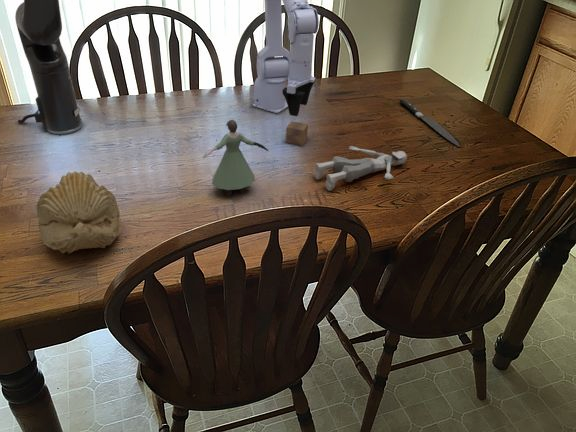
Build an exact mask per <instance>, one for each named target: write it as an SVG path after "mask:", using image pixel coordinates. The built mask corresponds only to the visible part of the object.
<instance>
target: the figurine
mask: <svg viewBox="0 0 576 432" xmlns="http://www.w3.org/2000/svg"><path fill="white" fill-rule="evenodd" d="M348 149H349V151H354V152H361V153H363V154H366V155H367V156H368V155H369V156H374V157H377V158H373V157H364V158H354V159H349V158H346V157H343V156H337V155H335V156H333V158H332V160H330V161H325V162H321V163H315V164H314V170H313V173H314V174H313V176H314V178H315V179H316V180H321V179H322V178H323V176H324V172H325V171H328V170H331V169H332V170H333V172H335V173H327V174H326V181H325V188H326V190H327V191H329V192H330V191H333V190H334V188H335V187H336V182H337V181H341V180H343V181H344V182H346V183H351V182H353V181H354V180H358V179H359V178H361V177H364V176H366V175H369V174H372V173H375V172H379V171H384V170H385V169H386V172H385V174H384V176H383V179H385V180H388V181H390V180H392V179H394V176H393V175H392V174H391V169H392V168H391V167H393V166H400V165H404V164H405V163H406V161H407V159H408V155H407V154H406V152H405V151H402V150H398V151H392V152H391V154H392V155H389V154H386V153H384V152H377V151H375V150H371V149H362V148H359V147H357V146H353V145H350V146H349V147H348Z"/></svg>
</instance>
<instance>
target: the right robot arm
mask: <svg viewBox="0 0 576 432" xmlns="http://www.w3.org/2000/svg"><path fill="white" fill-rule="evenodd" d="M282 4H283V6H284V9H285V12H286V15H287V29H288V41H289V50H288V49H286V48H285V47H284V46H283V21H282V20H283V18H282V17H283V16H282V13H283V12H282ZM317 10H318V9H316V8H314V7H313V6H312V5H311V6H310V4H309V1H308V0H264V19H265V20H264V21H265V23H264V24H265V46H264V47H262V49H261V50H260V51H258V52H257V56H256V58H257V59H256V73H257V77H256V79H255V80H254V85H253V103H252V107H254V108H258V109H261V110H265V111H267V112H271V113H275V114H279V113H281V112H282V111H284V110H285V109H288V114H289V116H293V117H298V115H299V112H300V108H301V105H303V106H307V104H308V101H309V97H310V94H311V90H312V88H313V86H314V84H315V83H316V81H317V77H315V76H313V74H312V71H313V56H314V55H313V53H314V38H315V34H317V32H318V30H319V24H320V23H319V19H320V18H319V14H318V11H317Z"/></svg>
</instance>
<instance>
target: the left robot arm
mask: <svg viewBox="0 0 576 432" xmlns="http://www.w3.org/2000/svg"><path fill="white" fill-rule="evenodd" d="M61 16H62V15H61V7H60V0H23V2H22V3H20V4H19V5H18V7H17V8H16V11H15V16H14V17H15V18H14V19H15V25H16V29H17V32H18V35H19V39H20V42H21V46H22V49H23V52H24V55H25V58H26V60H27V61H28V65H29V68H30V72H31V76H32V80H33V83H34V86H35V91H36V94H37V96H36V97H35V104H36V106H37V110H36V112H34V113H31V114H27V115H24V116H23V117H22V118H21V119H18V120H17V123H19V124H22V123H25V122H26V120H27V119H30V118H34V121H35V123H36V124H41V125H42V128H43V131H44V132H48V133H49V134H53V135H67V134H72V133H74V132H77V131H79V130H80V129H81V128H82V126H83V121H82V119H81V118H82V117H81V115H80V113H81V111H82V110H81V106H80V105H78V101H77V97H76V92H75V88H74V84H73V83H74V82H73V80H72V76H71V75H72V74H71V70H70V67H69V62H68V58H67V55H66V53H65V51H64V48H63V46H62V41H61V39H60V37H61V35H62V31H63V23H62V17H61Z"/></svg>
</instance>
